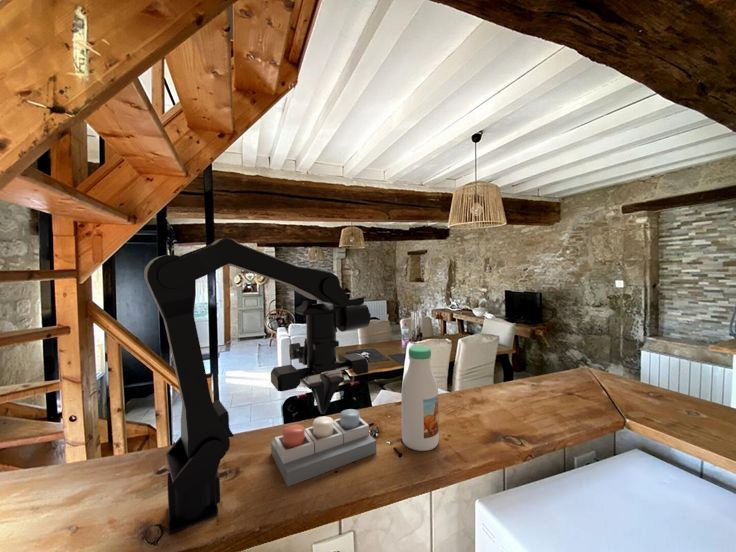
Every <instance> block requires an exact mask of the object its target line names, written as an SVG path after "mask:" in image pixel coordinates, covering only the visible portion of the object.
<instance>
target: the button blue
mask: <svg viewBox="0 0 736 552" xmlns="http://www.w3.org/2000/svg"><path fill="white" fill-rule="evenodd" d="M339 418H340V426H341V427H342V428H343V429H344V430H350V429H353V428H357V427H359V426H360V418H361V417H360V411H359V410H358V409H353V408H349V409H344V410H342V411H340V415H339Z"/></svg>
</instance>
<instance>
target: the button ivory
mask: <svg viewBox="0 0 736 552" xmlns="http://www.w3.org/2000/svg"><path fill="white" fill-rule="evenodd" d="M333 420H334V419H333V418H332V417H330V416H324V415H323V416H317V417H316V418H315V419H314V420H313V422H312V426H313V436H314V437H315V438H317V439H322V438H325V437H328V436H332V435H333Z"/></svg>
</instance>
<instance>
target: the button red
mask: <svg viewBox="0 0 736 552" xmlns="http://www.w3.org/2000/svg"><path fill="white" fill-rule="evenodd" d="M304 429H305V426H303V425H301V424H290V425H287V426H286V427H285V428H283V430H282V435H283V446H284V447H285V448H287V449H291V448H294V447H297V446H300V445H303V444H304V443H305V430H304Z"/></svg>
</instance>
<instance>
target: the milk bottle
mask: <svg viewBox="0 0 736 552" xmlns="http://www.w3.org/2000/svg"><path fill="white" fill-rule="evenodd" d="M431 357H432V350H431V348H430V347H428V346H423V345H414V346H411V347H409V348H408V359H409V363H408V364H409V365H408V367H407V371H406V373H405V374H404V377H403V380H402V384H401V385H402V386H401V440H402V442H403V444H404V445H405V446H406V447H407V448H409V449H411V450H413V451H420V452H426V451H431V450H434V448H436V447H437V446H438V444H439V439H440V438H439V434H440V433H439V432H440V431H439V428H440V427H439V423H440V422H439V421H440V419H439V418H440V416H439V415H440V414H439V410H440V409H439V388H438V383H437V379H436V376H435V375H434V373H433V370H432V366H431V360H432V358H431Z"/></svg>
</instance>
